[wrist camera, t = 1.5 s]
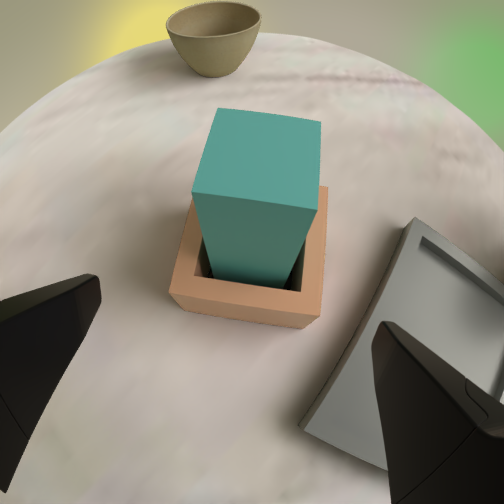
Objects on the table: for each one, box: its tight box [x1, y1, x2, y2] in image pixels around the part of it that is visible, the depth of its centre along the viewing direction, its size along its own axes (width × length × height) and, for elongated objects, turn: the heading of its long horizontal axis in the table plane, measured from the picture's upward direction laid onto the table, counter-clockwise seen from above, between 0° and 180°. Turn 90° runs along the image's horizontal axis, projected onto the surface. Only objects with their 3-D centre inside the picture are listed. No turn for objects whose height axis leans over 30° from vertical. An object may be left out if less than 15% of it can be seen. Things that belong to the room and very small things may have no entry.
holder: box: [169, 186, 328, 329], centre depth 21 cm, size 8×8×5 cm
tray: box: [298, 217, 504, 471], centre depth 19 cm, size 18×16×2 cm
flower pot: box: [166, 1, 262, 77], centre depth 29 cm, size 10×10×7 cm
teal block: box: [191, 108, 321, 289], centre depth 17 cm, size 4×4×12 cm
